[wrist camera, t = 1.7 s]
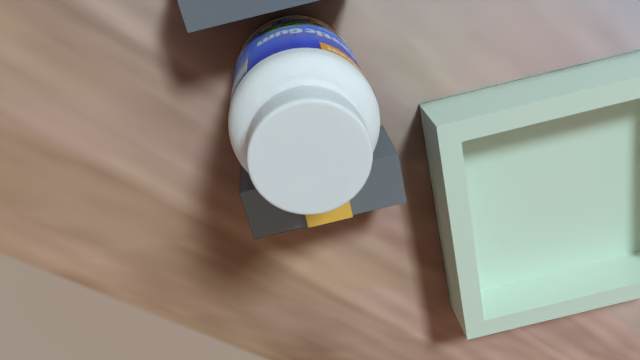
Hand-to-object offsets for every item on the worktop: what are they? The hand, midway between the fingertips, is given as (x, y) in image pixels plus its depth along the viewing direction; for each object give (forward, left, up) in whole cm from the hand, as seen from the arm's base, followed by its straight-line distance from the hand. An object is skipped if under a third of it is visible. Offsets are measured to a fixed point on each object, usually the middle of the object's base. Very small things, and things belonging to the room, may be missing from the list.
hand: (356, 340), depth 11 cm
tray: (+9, +11, -18) cm, 23 cm away
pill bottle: (0, 0, -18) cm, 18 cm away
